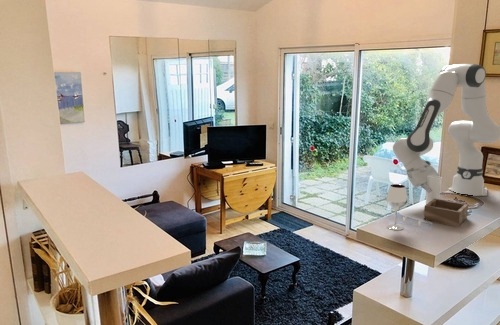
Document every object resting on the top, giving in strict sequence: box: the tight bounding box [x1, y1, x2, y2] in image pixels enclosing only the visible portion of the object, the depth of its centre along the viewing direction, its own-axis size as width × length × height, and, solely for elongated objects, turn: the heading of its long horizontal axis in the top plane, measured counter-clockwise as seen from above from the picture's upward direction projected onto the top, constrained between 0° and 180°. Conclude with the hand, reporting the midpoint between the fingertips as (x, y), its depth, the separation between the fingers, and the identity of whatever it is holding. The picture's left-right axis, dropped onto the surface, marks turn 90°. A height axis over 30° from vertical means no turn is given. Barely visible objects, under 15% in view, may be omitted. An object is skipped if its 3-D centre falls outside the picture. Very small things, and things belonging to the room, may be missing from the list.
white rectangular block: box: [425, 175, 443, 205], centre depth 189 cm, size 7×7×15 cm
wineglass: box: [385, 183, 409, 231], centre depth 162 cm, size 8×8×18 cm
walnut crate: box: [422, 198, 469, 228], centre depth 173 cm, size 14×14×6 cm
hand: (434, 190), depth 188 cm, fingers closed on white rectangular block, 6 cm apart
